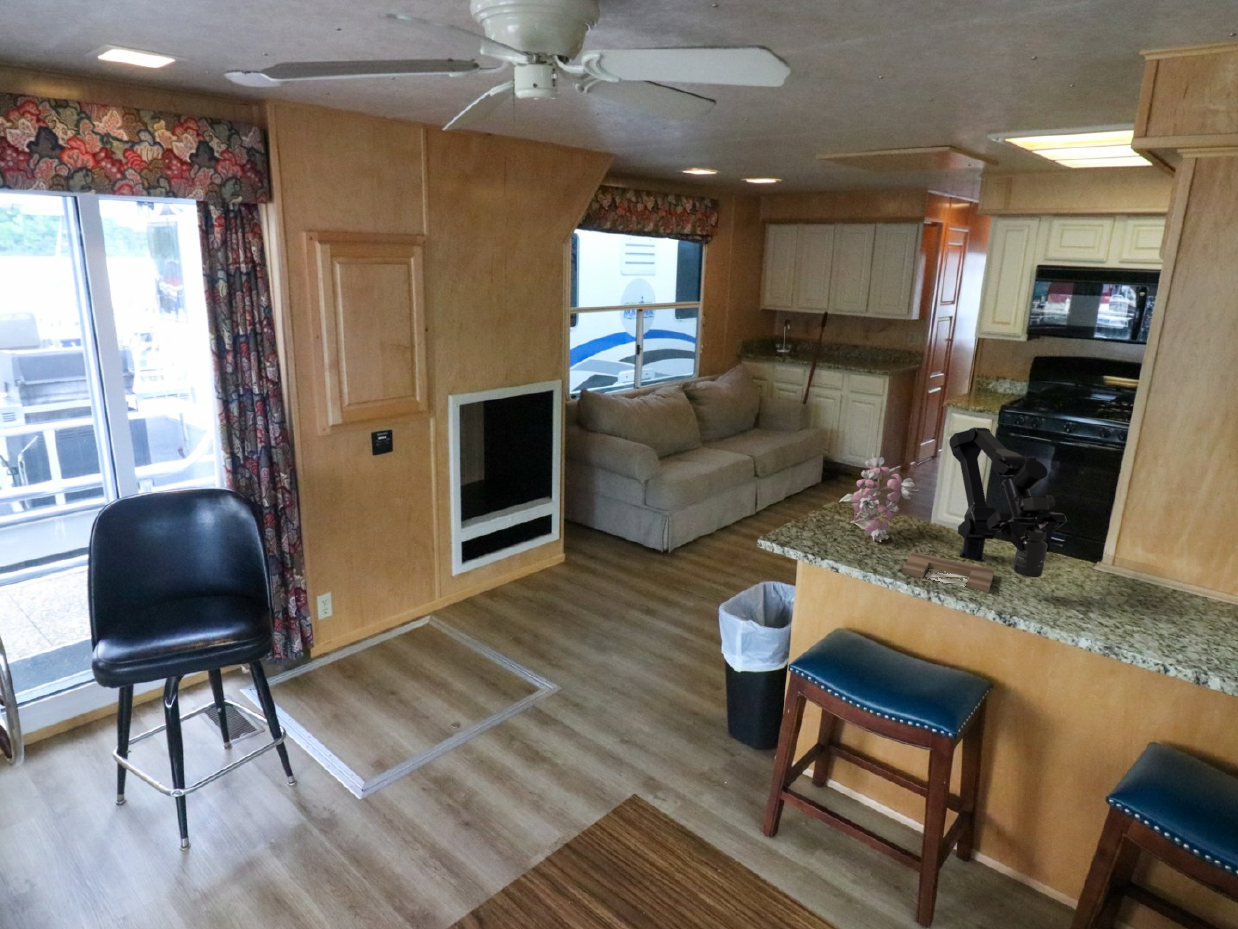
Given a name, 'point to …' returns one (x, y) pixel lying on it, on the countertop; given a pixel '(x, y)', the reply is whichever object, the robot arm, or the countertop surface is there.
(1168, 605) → the countertop surface
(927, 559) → the notched shelf board
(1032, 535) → the supplement bottle
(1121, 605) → the countertop surface
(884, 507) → the flower
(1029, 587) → the countertop surface
